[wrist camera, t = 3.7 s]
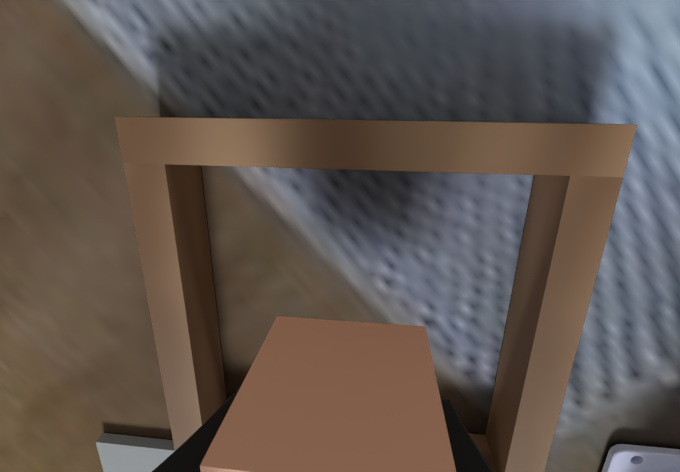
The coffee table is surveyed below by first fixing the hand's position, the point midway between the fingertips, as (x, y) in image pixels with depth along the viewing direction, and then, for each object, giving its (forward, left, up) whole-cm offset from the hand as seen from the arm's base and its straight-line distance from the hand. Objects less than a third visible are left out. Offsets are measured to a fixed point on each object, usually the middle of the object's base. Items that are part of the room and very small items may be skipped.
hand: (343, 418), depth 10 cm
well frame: (0, 0, -6) cm, 6 cm away
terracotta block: (0, 0, -2) cm, 2 cm away
